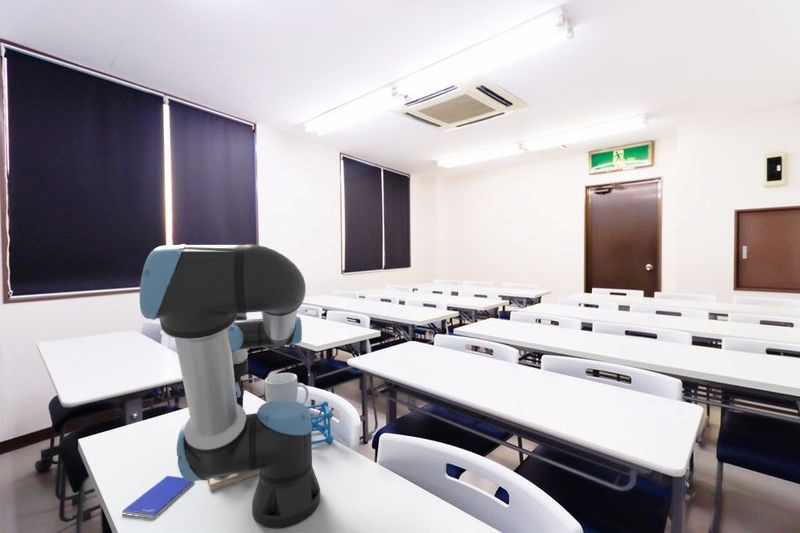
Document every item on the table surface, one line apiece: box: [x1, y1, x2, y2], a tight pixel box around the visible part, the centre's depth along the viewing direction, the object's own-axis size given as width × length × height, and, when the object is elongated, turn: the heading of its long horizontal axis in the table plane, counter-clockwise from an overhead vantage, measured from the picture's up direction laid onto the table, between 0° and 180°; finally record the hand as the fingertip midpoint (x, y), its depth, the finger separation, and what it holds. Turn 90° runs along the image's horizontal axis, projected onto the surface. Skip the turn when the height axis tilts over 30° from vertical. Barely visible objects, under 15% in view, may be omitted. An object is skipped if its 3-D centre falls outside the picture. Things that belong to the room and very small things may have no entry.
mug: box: [264, 372, 310, 405], centre depth 129 cm, size 15×11×13 cm
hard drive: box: [121, 475, 195, 519], centre depth 86 cm, size 2×8×12 cm
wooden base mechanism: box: [207, 469, 260, 491], centre depth 101 cm, size 23×12×6 cm, turn 35°
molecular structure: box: [306, 400, 334, 445], centre depth 111 cm, size 10×10×10 cm
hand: (236, 440), depth 104 cm, fingers closed
